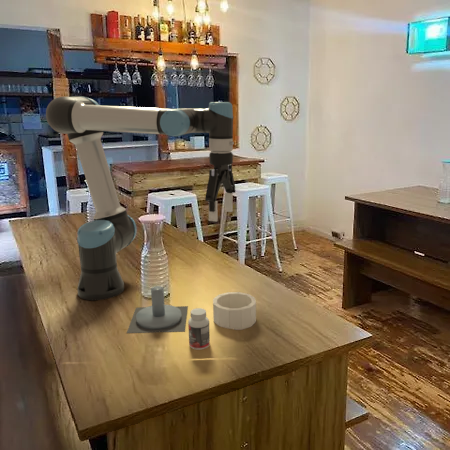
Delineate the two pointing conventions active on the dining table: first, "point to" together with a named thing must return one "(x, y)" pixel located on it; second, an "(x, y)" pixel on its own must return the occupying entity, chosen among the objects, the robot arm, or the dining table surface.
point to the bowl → (234, 310)
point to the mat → (176, 328)
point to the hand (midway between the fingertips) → (221, 216)
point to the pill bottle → (198, 329)
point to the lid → (158, 312)
